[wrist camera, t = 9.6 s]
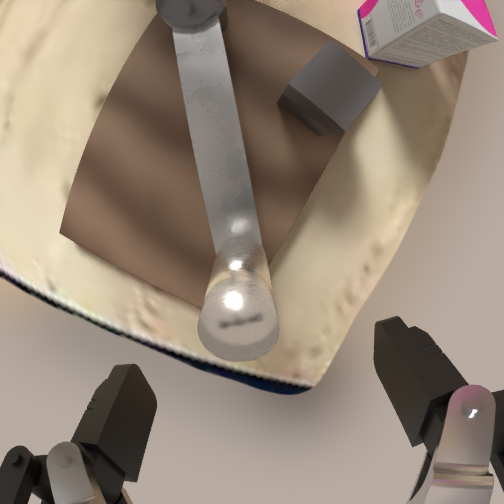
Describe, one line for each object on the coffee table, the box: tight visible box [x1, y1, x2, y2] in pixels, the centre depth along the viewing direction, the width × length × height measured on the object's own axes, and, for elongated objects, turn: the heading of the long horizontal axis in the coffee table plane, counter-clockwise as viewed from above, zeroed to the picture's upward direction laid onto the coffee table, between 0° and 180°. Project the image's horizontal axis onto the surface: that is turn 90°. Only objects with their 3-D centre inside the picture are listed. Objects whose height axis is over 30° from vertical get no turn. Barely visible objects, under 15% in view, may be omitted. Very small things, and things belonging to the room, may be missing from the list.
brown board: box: [59, 0, 383, 308], centre depth 18 cm, size 25×18×8 cm
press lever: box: [156, 0, 279, 362], centre depth 14 cm, size 22×4×12 cm, turn 10°
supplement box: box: [358, 0, 498, 69], centre depth 13 cm, size 6×6×12 cm
